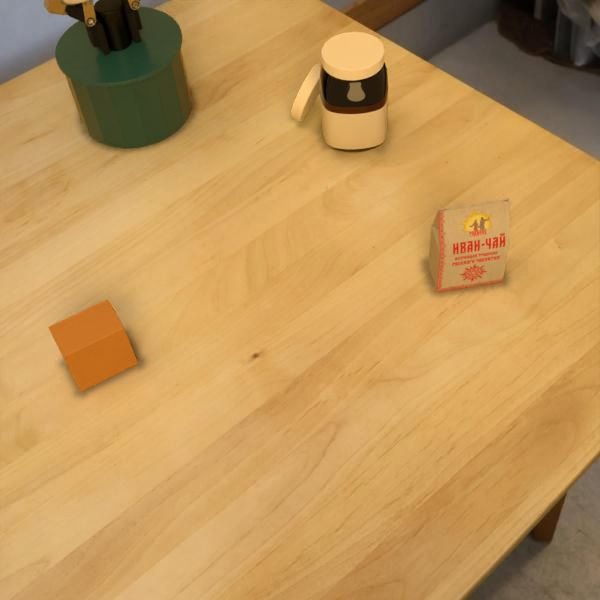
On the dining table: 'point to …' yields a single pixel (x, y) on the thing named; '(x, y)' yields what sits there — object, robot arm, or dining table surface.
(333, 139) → the spread jar
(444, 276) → the tea bag
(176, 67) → the pot
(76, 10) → the robot arm
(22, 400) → the dining table surface
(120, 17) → the lid
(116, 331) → the orange seamed cube
